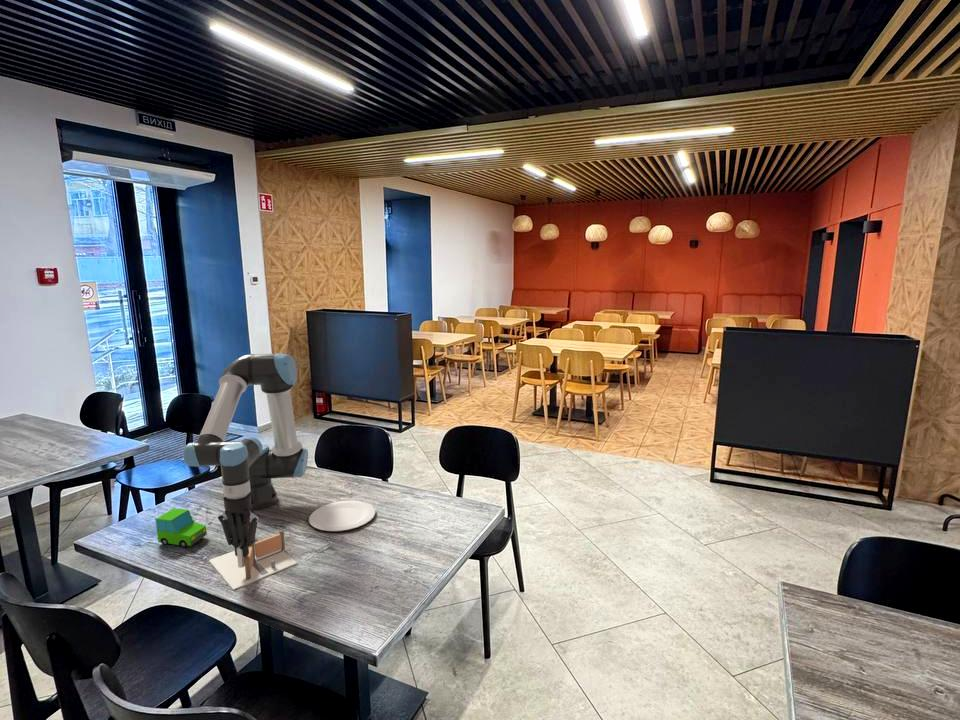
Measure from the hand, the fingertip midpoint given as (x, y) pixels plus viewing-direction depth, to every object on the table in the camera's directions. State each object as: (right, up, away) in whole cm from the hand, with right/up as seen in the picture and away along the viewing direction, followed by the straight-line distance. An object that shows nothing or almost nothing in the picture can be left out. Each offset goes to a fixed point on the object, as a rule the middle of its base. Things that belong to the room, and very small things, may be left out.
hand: (243, 565), depth 160 cm
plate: (+21, +3, +38) cm, 44 cm away
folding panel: (+1, -3, +2) cm, 3 cm away
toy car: (-31, 0, +21) cm, 37 cm away
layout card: (0, -2, +8) cm, 8 cm away
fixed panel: (+3, -1, +11) cm, 12 cm away
